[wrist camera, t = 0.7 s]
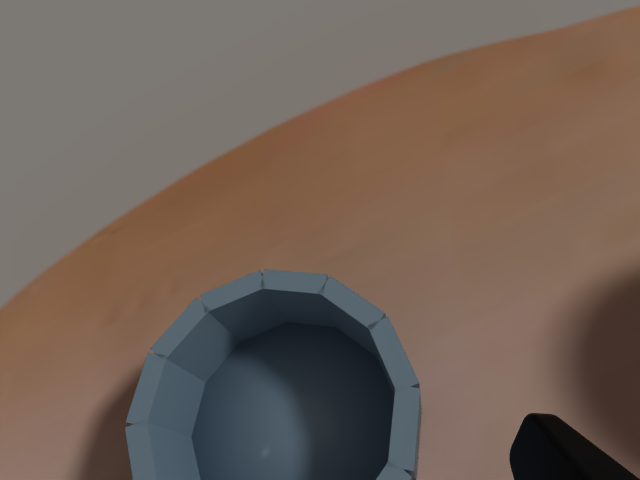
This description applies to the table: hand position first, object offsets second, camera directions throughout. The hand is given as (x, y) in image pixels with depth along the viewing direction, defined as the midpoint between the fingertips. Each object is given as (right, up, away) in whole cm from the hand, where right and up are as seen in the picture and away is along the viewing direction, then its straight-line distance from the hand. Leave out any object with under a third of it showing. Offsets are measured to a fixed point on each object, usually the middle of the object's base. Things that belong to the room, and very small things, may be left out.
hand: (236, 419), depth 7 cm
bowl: (0, -5, +14) cm, 15 cm away
